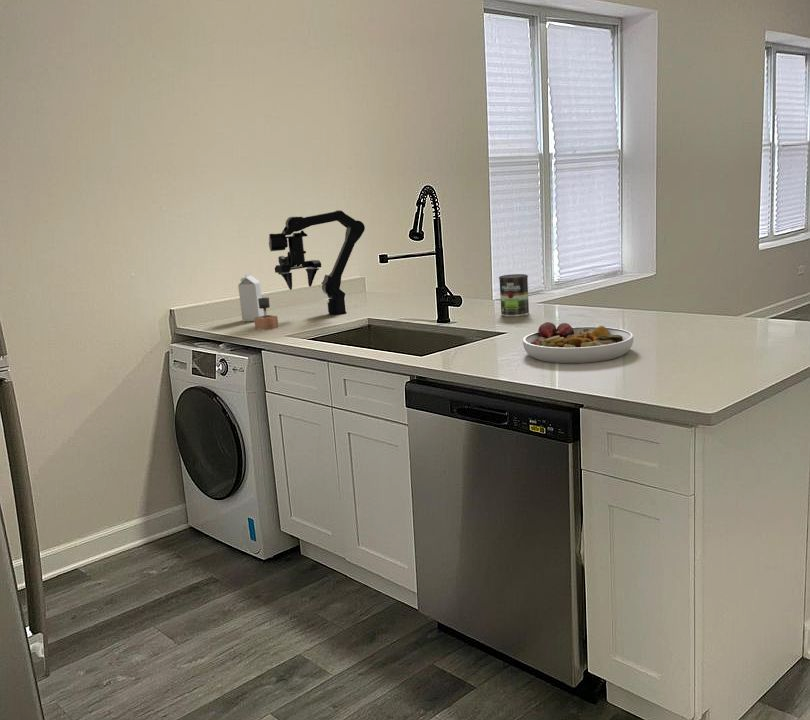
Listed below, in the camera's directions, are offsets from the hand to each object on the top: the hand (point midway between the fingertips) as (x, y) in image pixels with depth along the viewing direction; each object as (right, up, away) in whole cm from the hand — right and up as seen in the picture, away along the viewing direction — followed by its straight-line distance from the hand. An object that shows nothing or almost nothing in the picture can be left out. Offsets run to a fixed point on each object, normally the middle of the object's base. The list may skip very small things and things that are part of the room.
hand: (300, 288), depth 336 cm
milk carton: (-20, -13, +7) cm, 25 cm away
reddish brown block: (-10, -16, -15) cm, 25 cm away
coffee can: (+82, -12, -30) cm, 88 cm away
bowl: (+90, -27, -101) cm, 138 cm away
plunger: (-11, -15, -15) cm, 24 cm away
